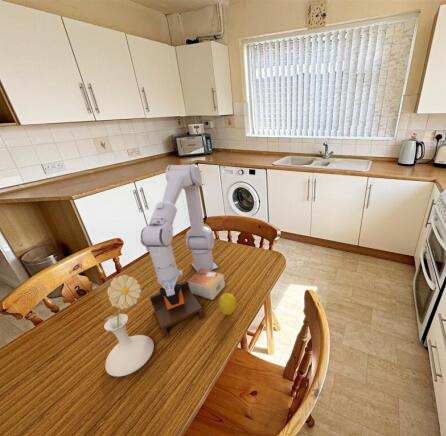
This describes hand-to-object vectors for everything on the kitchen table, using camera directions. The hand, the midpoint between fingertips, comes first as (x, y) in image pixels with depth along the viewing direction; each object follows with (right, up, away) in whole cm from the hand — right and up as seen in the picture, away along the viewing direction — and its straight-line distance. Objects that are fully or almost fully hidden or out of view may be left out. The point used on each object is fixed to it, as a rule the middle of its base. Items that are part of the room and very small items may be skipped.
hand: (174, 298), depth 75 cm
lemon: (+17, -6, +3) cm, 18 cm away
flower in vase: (-7, -13, -10) cm, 17 cm away
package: (0, -1, +1) cm, 1 cm away
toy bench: (0, -6, +3) cm, 7 cm away
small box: (+12, +1, +10) cm, 16 cm away
